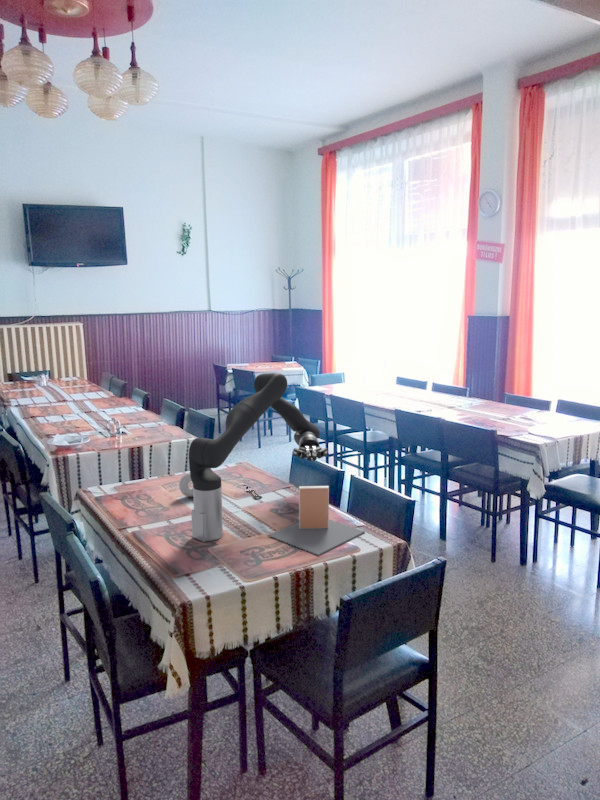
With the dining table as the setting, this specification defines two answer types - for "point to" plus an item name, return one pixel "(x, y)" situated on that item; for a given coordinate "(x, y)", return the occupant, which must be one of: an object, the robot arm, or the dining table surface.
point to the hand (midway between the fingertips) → (312, 458)
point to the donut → (186, 485)
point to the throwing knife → (253, 495)
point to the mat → (317, 537)
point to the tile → (313, 507)
